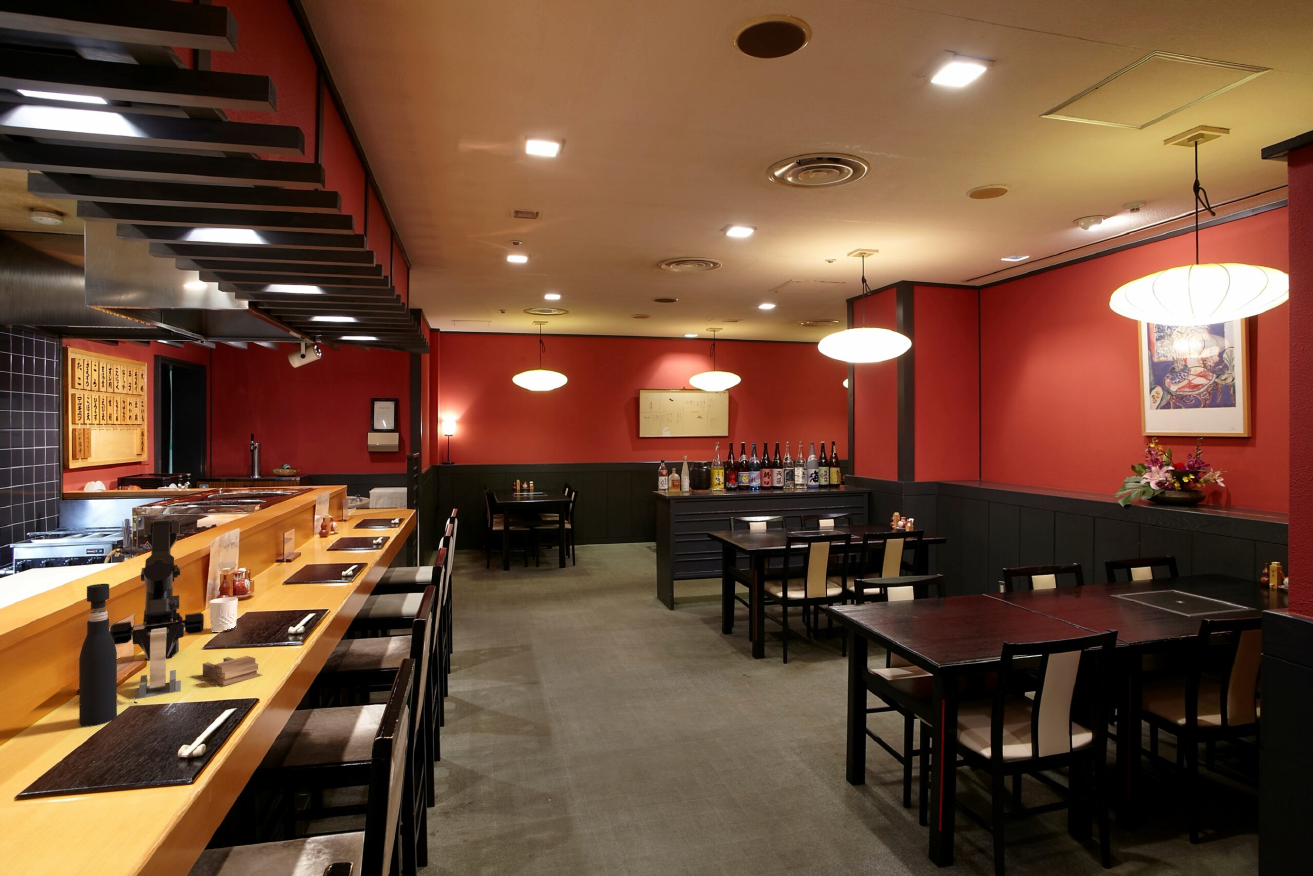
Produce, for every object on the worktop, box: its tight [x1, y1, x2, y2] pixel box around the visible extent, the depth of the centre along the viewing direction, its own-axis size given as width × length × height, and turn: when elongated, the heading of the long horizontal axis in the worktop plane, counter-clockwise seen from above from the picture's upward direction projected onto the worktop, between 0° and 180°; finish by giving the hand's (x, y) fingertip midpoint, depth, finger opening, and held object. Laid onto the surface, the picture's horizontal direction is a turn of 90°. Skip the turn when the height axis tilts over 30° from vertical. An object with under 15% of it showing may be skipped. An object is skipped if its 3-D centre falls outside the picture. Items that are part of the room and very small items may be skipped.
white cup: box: [208, 596, 239, 632], centre depth 218 cm, size 8×8×10 cm
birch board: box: [149, 628, 167, 688], centre depth 164 cm, size 5×3×13 cm, turn 35°
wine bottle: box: [78, 583, 118, 727], centre depth 148 cm, size 6×6×30 cm
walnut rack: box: [194, 656, 263, 688], centre depth 173 cm, size 14×10×4 cm
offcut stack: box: [213, 655, 259, 685], centre depth 171 cm, size 5×8×4 cm, turn 149°
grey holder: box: [133, 669, 182, 704], centre depth 164 cm, size 9×9×4 cm
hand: (158, 658), depth 163 cm, fingers closed on birch board, 3 cm apart
